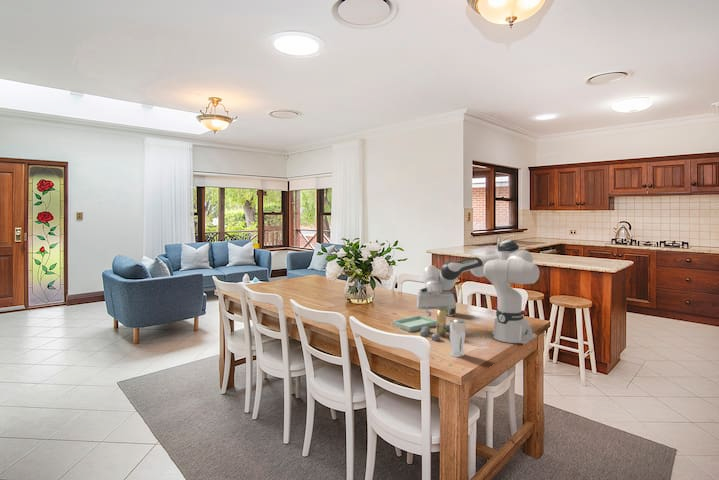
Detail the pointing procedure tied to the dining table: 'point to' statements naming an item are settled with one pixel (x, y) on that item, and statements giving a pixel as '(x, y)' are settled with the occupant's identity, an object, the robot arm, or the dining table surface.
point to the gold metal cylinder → (441, 322)
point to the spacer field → (435, 336)
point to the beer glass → (457, 337)
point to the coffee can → (453, 311)
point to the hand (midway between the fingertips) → (438, 315)
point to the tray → (414, 323)
